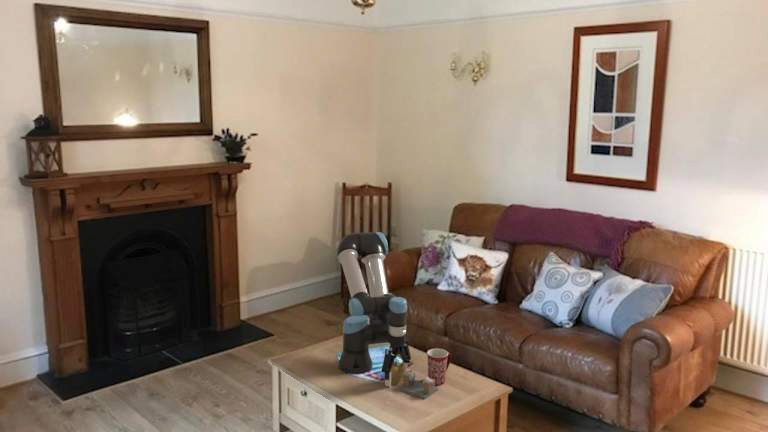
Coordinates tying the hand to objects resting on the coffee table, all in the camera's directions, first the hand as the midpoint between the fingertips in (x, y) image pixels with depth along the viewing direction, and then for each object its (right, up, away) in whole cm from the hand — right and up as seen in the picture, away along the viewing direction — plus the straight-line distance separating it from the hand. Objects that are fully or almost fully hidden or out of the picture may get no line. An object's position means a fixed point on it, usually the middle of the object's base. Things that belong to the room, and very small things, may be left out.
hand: (396, 381), depth 276 cm
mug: (+19, 0, +2) cm, 19 cm away
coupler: (0, 0, 0) cm, 0 cm away
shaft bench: (+9, -2, -7) cm, 12 cm away
